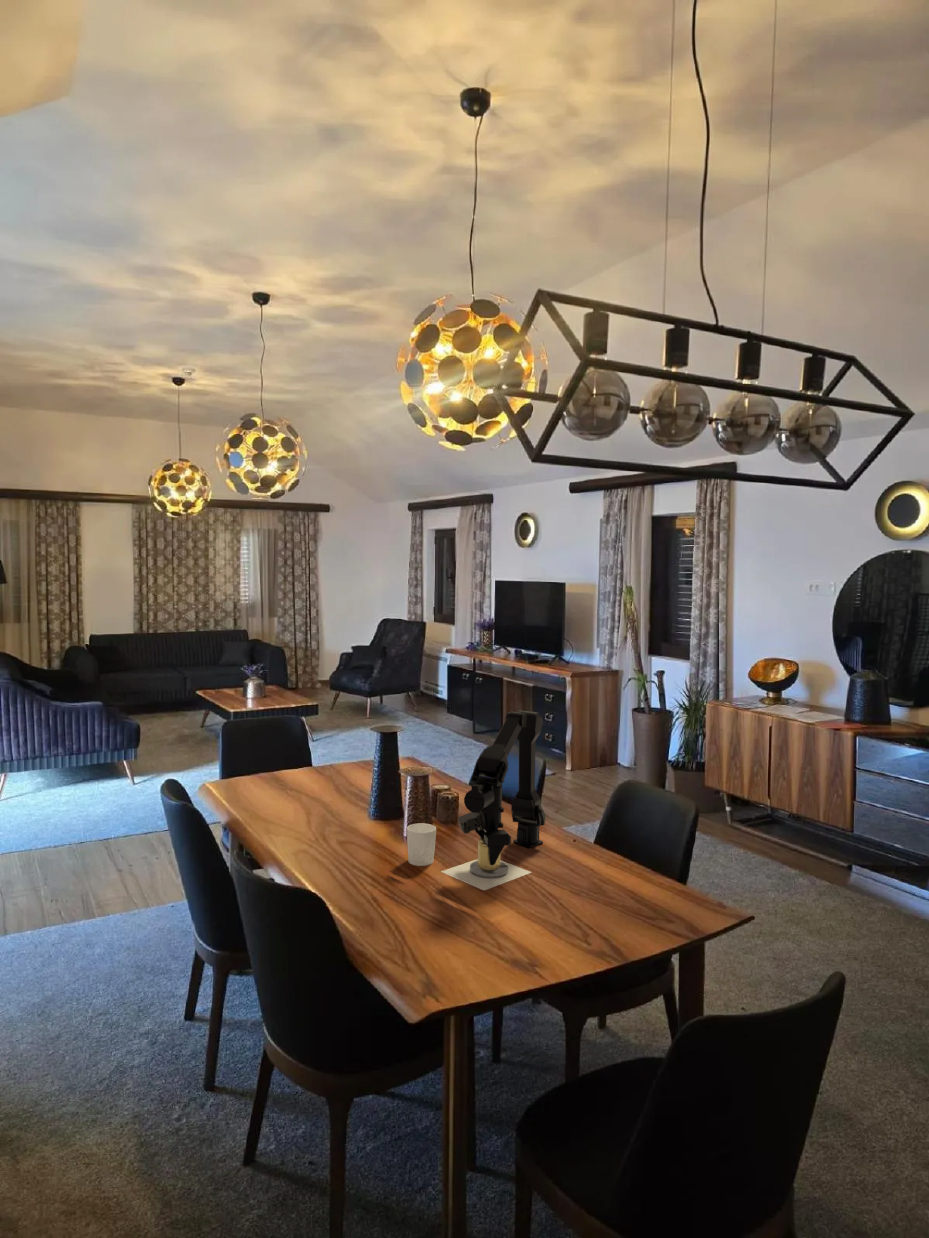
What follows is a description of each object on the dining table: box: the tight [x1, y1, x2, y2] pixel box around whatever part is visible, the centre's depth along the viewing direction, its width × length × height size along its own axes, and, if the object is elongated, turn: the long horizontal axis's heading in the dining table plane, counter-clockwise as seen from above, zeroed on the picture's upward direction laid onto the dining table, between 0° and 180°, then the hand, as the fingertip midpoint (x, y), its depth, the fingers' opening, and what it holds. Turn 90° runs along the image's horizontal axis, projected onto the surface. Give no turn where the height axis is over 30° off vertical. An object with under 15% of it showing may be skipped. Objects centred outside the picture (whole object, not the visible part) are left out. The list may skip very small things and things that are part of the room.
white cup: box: [406, 822, 437, 867], centre depth 212 cm, size 8×8×10 cm
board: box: [440, 858, 532, 891], centre depth 206 cm, size 18×16×1 cm
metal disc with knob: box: [470, 861, 508, 878], centre depth 206 cm, size 10×10×6 cm
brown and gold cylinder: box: [477, 837, 502, 870], centre depth 206 cm, size 6×6×7 cm
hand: (489, 860), depth 206 cm, fingers closed on brown and gold cylinder, 5 cm apart
